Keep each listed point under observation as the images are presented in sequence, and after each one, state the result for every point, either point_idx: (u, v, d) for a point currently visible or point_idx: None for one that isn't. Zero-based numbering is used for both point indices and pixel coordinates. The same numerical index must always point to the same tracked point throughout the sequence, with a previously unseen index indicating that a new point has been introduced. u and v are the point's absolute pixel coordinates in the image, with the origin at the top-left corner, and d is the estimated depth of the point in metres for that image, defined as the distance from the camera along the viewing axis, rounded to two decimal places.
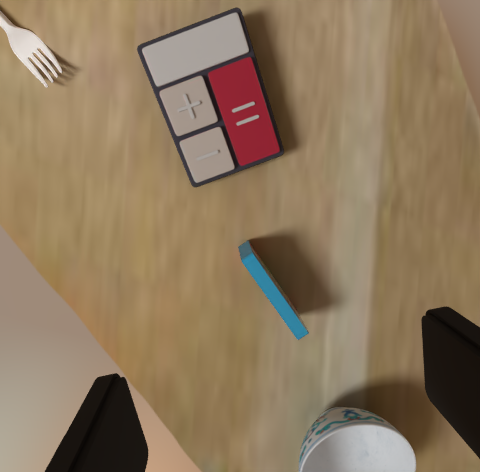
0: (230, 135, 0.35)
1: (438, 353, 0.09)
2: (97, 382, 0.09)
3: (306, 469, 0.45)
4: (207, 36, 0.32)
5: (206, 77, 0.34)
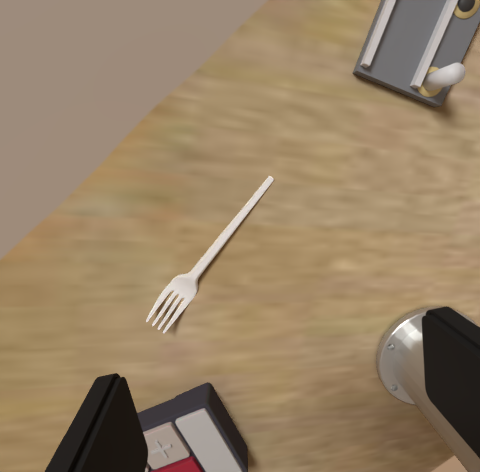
0: None
1: (438, 353, 0.09)
2: (97, 382, 0.09)
3: None
4: (221, 457, 0.37)
5: (190, 455, 0.37)
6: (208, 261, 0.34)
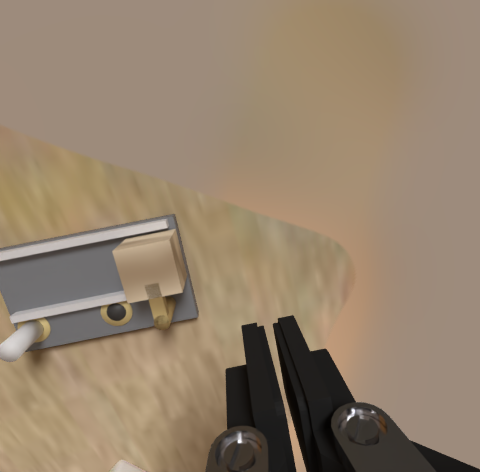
0: None
1: (280, 357, 0.10)
2: (245, 328, 0.10)
3: None
4: None
5: None
6: None
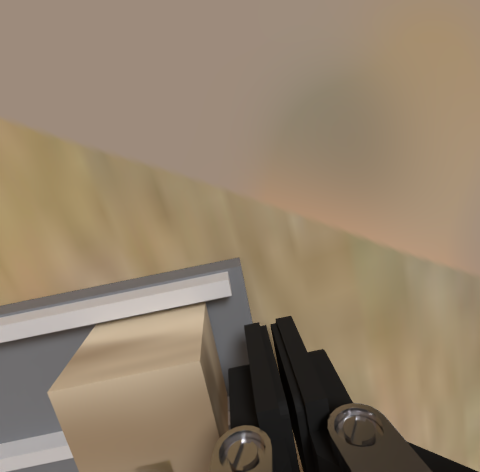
0: None
1: (278, 358, 0.10)
2: (247, 328, 0.10)
3: None
4: None
5: None
6: None
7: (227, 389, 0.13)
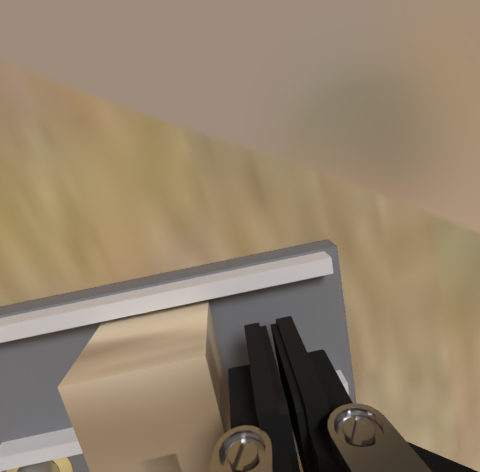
0: None
1: (277, 358, 0.10)
2: (247, 328, 0.10)
3: None
4: None
5: None
6: None
7: None
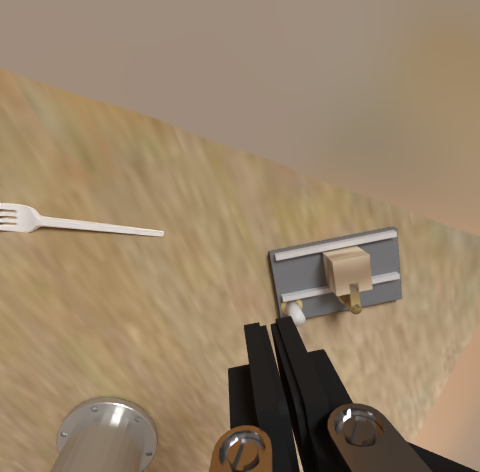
0: None
1: (278, 358, 0.10)
2: (247, 328, 0.10)
3: None
4: None
5: None
6: (62, 226, 0.36)
7: (387, 270, 0.39)
